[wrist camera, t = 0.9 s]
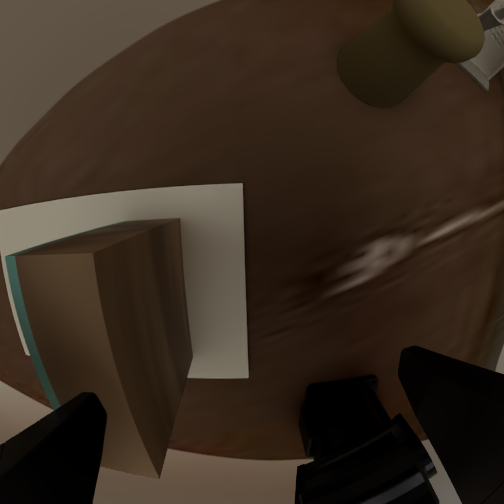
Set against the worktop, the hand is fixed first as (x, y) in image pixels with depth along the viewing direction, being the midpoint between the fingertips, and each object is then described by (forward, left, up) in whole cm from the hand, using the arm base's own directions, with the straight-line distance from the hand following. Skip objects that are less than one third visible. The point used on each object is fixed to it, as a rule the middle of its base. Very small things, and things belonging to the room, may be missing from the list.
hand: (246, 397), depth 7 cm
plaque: (+6, +1, -12) cm, 13 cm away
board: (+11, +1, -13) cm, 17 cm away
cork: (-10, -15, -13) cm, 22 cm away
